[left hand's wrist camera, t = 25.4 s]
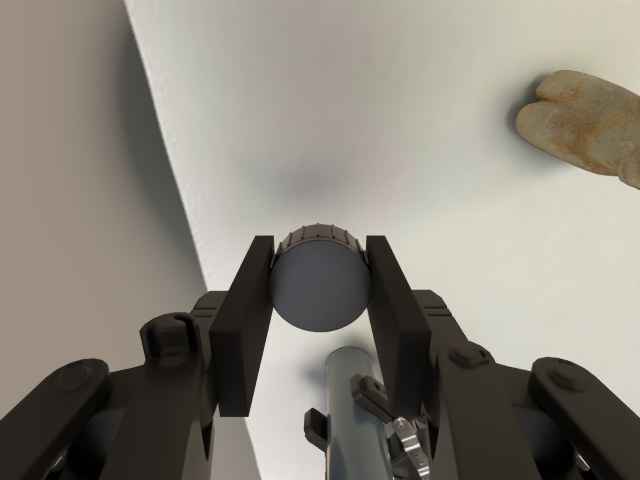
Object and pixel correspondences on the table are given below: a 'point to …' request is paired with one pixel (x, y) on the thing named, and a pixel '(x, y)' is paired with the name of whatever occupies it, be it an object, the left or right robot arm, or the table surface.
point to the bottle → (353, 423)
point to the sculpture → (586, 124)
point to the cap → (320, 278)
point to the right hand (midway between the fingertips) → (330, 402)
